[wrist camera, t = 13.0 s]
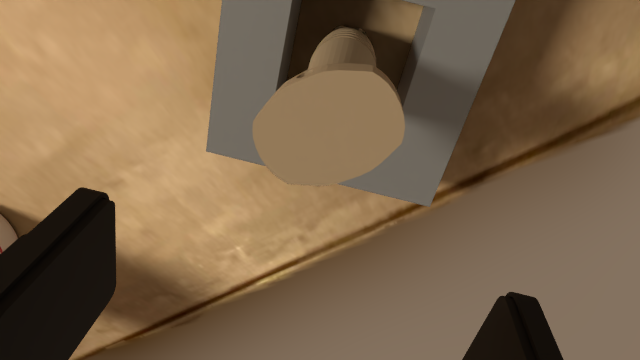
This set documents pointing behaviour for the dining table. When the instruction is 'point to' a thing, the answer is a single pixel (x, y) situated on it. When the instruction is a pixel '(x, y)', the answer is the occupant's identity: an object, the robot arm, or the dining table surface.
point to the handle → (331, 115)
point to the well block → (414, 88)
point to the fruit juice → (6, 234)
